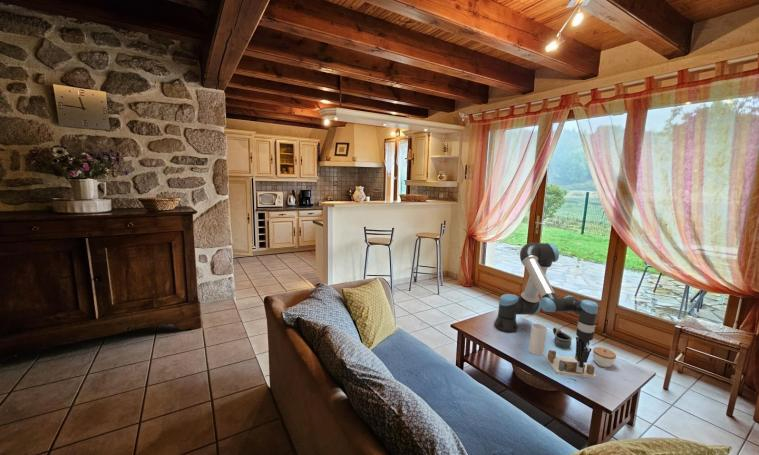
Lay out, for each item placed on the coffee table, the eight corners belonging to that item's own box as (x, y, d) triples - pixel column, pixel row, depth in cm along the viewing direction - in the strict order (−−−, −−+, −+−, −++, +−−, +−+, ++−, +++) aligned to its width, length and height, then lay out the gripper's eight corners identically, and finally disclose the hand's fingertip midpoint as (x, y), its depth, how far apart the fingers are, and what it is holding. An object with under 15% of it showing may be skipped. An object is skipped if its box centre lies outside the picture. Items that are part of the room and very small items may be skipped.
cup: (545, 355, 190) (548, 330, 187) (530, 353, 192) (533, 328, 189) (541, 348, 198) (544, 324, 195) (527, 346, 200) (530, 322, 197)
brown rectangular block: (566, 371, 172) (567, 363, 171) (563, 368, 175) (564, 360, 174) (583, 373, 171) (585, 365, 171) (580, 369, 174) (581, 361, 174)
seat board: (544, 356, 189) (545, 346, 188) (580, 360, 187) (582, 350, 186) (556, 374, 172) (558, 363, 171) (596, 378, 170) (598, 367, 169)
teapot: (563, 351, 196) (566, 336, 194) (545, 341, 207) (547, 327, 205) (574, 348, 200) (576, 333, 198) (556, 339, 211) (558, 324, 209)
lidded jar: (587, 361, 186) (589, 346, 185) (599, 357, 191) (601, 343, 189) (606, 371, 177) (608, 356, 175) (618, 367, 181) (621, 352, 180)
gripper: (599, 336, 160) (592, 380, 164) (587, 325, 173) (581, 366, 176) (582, 334, 162) (576, 377, 165) (572, 323, 174) (566, 364, 178)
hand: (578, 371), depth 171 cm, fingers closed
